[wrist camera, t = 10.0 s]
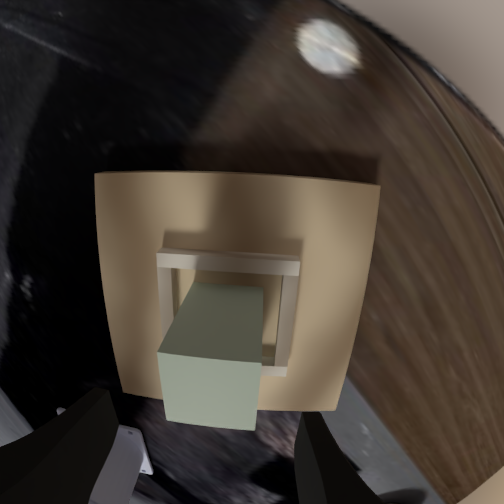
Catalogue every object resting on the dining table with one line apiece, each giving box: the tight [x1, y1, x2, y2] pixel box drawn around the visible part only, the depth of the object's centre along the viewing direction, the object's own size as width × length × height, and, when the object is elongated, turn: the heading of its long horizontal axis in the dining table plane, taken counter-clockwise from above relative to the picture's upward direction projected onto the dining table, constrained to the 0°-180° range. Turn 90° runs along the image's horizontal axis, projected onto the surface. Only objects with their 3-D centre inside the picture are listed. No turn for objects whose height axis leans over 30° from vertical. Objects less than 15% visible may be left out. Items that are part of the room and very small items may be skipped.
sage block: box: [157, 282, 263, 430], centre depth 15 cm, size 4×4×7 cm
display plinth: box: [95, 171, 381, 411], centre depth 19 cm, size 16×16×2 cm
